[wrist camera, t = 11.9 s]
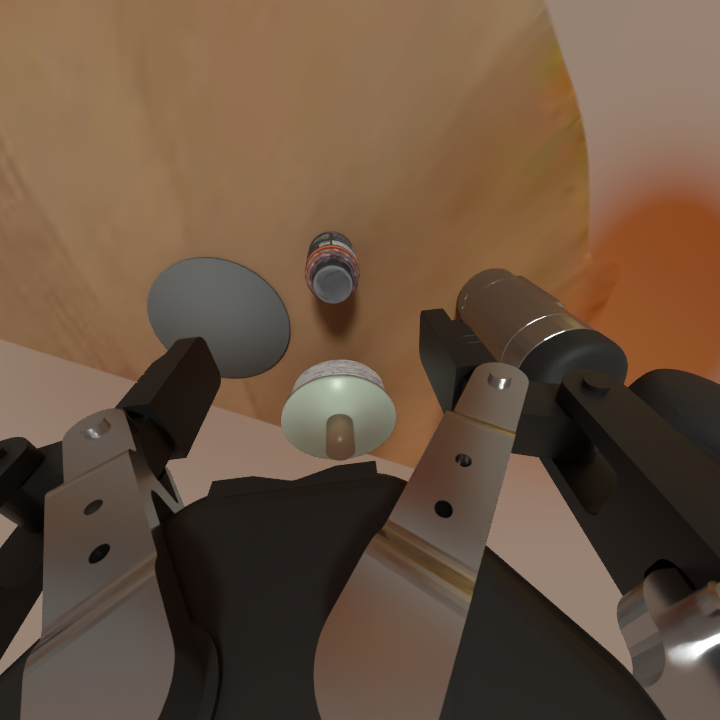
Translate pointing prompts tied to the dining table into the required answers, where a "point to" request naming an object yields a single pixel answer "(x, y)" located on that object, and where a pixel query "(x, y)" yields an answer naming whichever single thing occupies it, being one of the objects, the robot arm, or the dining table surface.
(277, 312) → the mat
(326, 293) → the supplement bottle
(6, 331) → the dining table surface
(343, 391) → the lid
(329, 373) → the paper bowls
